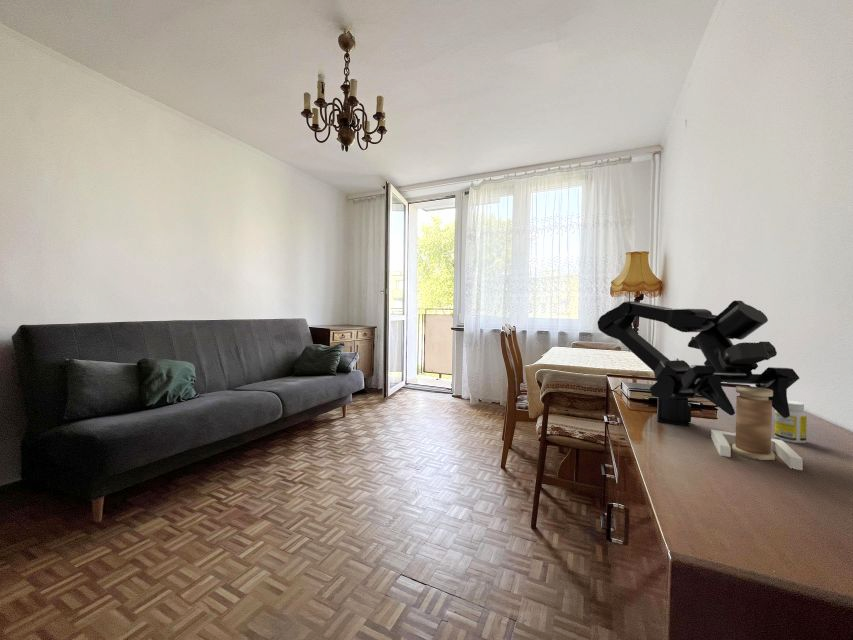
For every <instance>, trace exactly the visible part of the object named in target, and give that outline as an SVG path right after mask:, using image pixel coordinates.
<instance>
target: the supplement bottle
mask: <svg viewBox="0 0 853 640" xmlns="http://www.w3.org/2000/svg"><path fill="white" fill-rule="evenodd" d="M787 401H788V407H789V412H790V416H789V417H788V418H784V417H782V416H781V415H780V414H779V413H778V412H777V411H776V410H775V409H774V437H775V438H776V439H777V440H782V441H783V442H788V443H793V444H794V443H795V444H805V443H806V442H807V423H808V422H807V420H808V418H807V417H808V416H807V413H805V412H804V411H805V404H804V403H803V402H800V401H796V400H788V399H787Z"/></svg>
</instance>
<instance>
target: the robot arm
mask: <svg viewBox="0 0 853 640" xmlns="http://www.w3.org/2000/svg"><path fill="white" fill-rule="evenodd" d="M637 317H638V318H643V319H648V320H652V321H655V322H660V323H661V322H662V323H664V324H666V325H667V326H669V327H670V328H672V329H674V330H676V331H679V332H682V333H698V334H697V335H695V336H691V338H690V340H689V341H688V343H687V347H689V348H692V349H696V350H700V351H701V353H702V354H703V356H704V358H705V361H704V363H703V365H700V364H699V365H698V364H697V365H696V364H692V365H690V364H689V363H687V362H686V361H685V360H683V359H681V360H670V359H669V358H668V357H667V356H665V355H664V354H663V353H662V352H661V351H659V350H658V349H657V348H656V347H654V346H653V345H652V344H651V343H649V342H648V341H647V340H646V339H645V338H644V337H642V336H641V335H640V334H638V332H637V331H635V330H634V327H633V323H634V322H635V321H636V319H637ZM768 321H769V320H768V317H767V315H766V314H765V313H764V312H763V311H761V310H760V309H757V308H756V307H753V306H752V305H749V304H747V303H745V302H744V301H743V300H733V301H731V303H730V304H729V305H728V306H727V307H726V308H725V309H724V310H722V311H721V312H720V313H718V314H713V313H712V311H711V310H708V309H707V308H705V309H704V308H672V307H667V306H659V305H654V304H648V303H643V302H639V301H631V300H629V301H628V300H625V301H623V302H622V303H621V304H620V305H618V306H616V307H614V308H612V309H611V310H608V311H606V313H604V314H603V315H601V316H600V317H599V318H598V320H597V328H598V330H599V331H600V332H601V333H602V334H605V336H608V337H610V338H614V339H616V340H618V341H619V342H621V343H622V344H623V346H625V347H626V348H627V349H628V350H630V351H631V353H633V354H634V355H635V356H636V357H637V358H638V359H640V360H641V361H642V362H643V363H644V364H645V365H646V366H647V367H648V368H650V370H652V371H653V374H654V379H655V381H656V382H655V383H654V384H652V385H651V386H650V387H649V391H650V394H651V397H655V398H657V413H656V421H657V422H661V423H667V424H674V425H681V426H690V423H691V422H692V406H691V404H690V403H689V399H695V397H696V395H697V394H698V395H700V396H701V397H703V398H704V399H706V400H708V401H710V403H712V404H714V405H715V406H717V407H718V408H720V410H722V411H723V412H725V413H726V414H728V415H729V416H734V415H736V410H735V409H734V407H733V405H732V403H731V401H730V398H729V397H728V396H727V394H726V392H725V391H724V389H723V387H722V383H727V384H734V385H735V384H736V385H737V384H738V385H755V386H754V387H760V388H766V389H770V390H773V396H772V397H768V399H769V400H771V401H772V409H774V411H775V410H776V411H777V412H778V413H779V414H780V415H781V416H782V417H784V418H788V417H789V416H790V412H789V407H788V401H787V400H788V396H787V395H788V393H787V390H788V389H789V388H790V387H791V386H792V385H794V384H795V383H796V382H797V381H798V380H799V379H800V376H799V375H798V374H797V372H795V370H794V369H793V368H790V367H775V366H773V367H771V366H768V367H766V369H764V371H762V372H761V373H753V370H754V371H755V370H756V369H758V367H759V365H758V363H761V362H763V361H769V360H770V359H772V358H775V357H776V356H777V354H778V353H777V352H778V351H777V350H776V347H775V346H774V345H773V344H772V343H771V342H770V341H759V342H739V343H736V344H734V343H733V342H732V340H735V339H736V340H740V341H741V340H744V339H745V338H747V337H748V336H750V335H751V334H753V333H754V332H755V331H757V330H758V329H759V328H761V327H762V326H764V325H765V324H767V322H768Z"/></svg>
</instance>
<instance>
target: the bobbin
mask: <svg viewBox="0 0 853 640" xmlns="http://www.w3.org/2000/svg"><path fill="white" fill-rule="evenodd" d="M735 392H736V393H738V394H739V395H737V396H736V401H735V405H736V406H735V407H736V408H735V433H736V441H735V444H731V452H732V453H734V454H736V455H739V456H741V457H744V458H747V457H748V458H747V459H751V458H753V459H752V460H756V459H759V460H758V461H762V460H773V461H775V454H776V453H775V452H774V451H771V439H772V423H773V422H772V421H773V419H772V417H773V407H772V401H771V400H769V399H768V397H772V396H773V390H770V389H766V388H760V387H756V386H750V385H736V386H735Z"/></svg>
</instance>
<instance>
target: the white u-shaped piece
mask: <svg viewBox="0 0 853 640" xmlns="http://www.w3.org/2000/svg"><path fill="white" fill-rule="evenodd" d="M710 435H711V438H712V439H711V441H712V440H713V441H712V443H713V442H714V443H713V444H714V447H715V449H716V450H717V452H718V454H719V456H721V457H727V458H731V452H732V446H731V445H732V444H735V441H736V432H728V431H724V430H716V429H711V434H710ZM771 451H772V452H774V453H775V454H776V455H777V456H778V457H779V458H780V460H782V461H783V462H784V464H785V465H787V467H788V468H789V469H792V468H793V470H797V471H803V469H804V467H803V466H804V465H803V461H804V460H803V457H801V456H800V455H799V454H798V453H797V452H795V450H793V449H792V448H791V447H790V446H789V445H788V444H787V443H785V441H784V440H780V439H778V438H776V439H775V438H771Z"/></svg>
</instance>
